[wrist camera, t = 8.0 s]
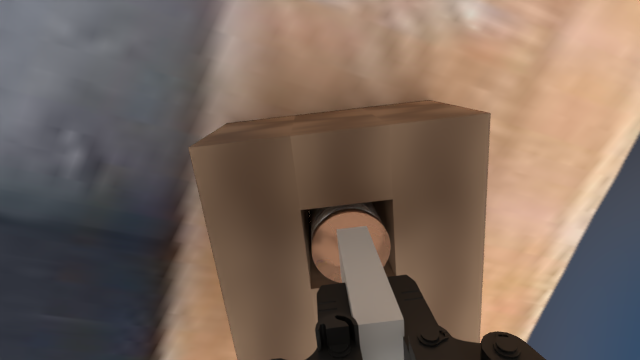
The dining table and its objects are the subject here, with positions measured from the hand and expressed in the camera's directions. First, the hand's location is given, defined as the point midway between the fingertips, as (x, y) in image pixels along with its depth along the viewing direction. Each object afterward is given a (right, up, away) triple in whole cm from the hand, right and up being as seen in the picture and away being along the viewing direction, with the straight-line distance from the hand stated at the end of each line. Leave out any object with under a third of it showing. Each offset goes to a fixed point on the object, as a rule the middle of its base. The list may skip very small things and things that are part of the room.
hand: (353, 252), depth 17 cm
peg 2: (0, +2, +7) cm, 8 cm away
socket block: (0, -3, +10) cm, 10 cm away
